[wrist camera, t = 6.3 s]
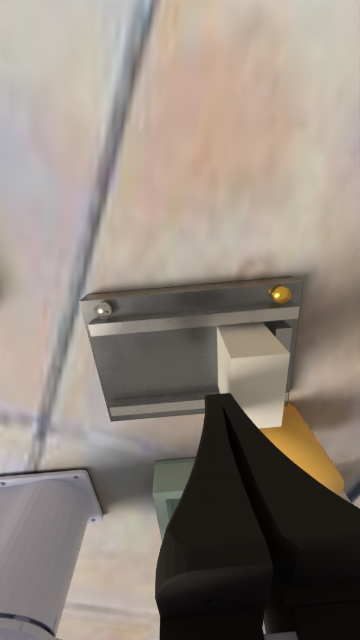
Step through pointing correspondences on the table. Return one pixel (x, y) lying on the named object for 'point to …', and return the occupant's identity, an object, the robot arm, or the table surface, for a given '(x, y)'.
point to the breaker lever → (253, 371)
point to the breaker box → (179, 340)
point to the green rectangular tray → (169, 487)
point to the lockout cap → (304, 449)
